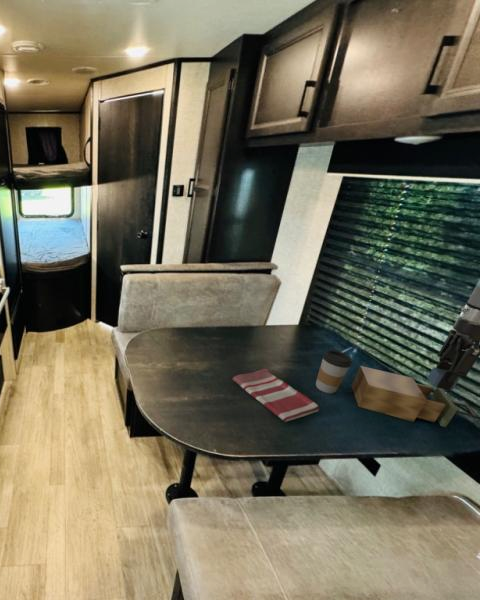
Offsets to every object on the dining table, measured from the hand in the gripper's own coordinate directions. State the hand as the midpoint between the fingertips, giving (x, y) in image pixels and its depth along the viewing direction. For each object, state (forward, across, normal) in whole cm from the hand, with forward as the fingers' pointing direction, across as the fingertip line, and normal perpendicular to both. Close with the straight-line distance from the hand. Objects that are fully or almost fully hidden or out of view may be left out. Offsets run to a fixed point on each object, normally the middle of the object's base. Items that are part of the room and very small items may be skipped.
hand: (439, 383), depth 102 cm
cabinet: (+13, 0, -11) cm, 17 cm away
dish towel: (+13, +14, -45) cm, 49 cm away
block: (0, 0, 0) cm, 0 cm away
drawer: (+12, 0, 0) cm, 12 cm away
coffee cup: (+13, 0, -27) cm, 30 cm away
